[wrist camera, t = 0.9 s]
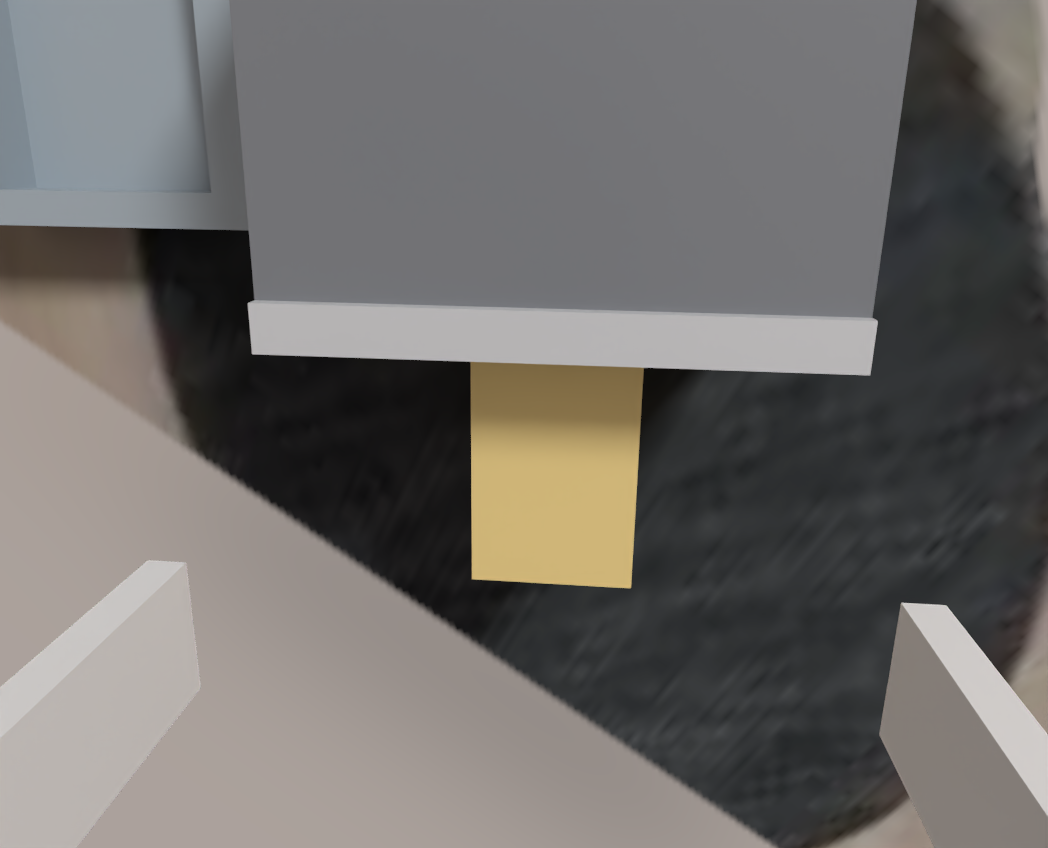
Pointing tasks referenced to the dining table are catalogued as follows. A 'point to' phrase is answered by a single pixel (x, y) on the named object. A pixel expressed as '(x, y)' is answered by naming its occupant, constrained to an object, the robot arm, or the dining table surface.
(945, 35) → the dining table surface
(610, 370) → the yellow cuboid
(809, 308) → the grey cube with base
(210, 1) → the tray
